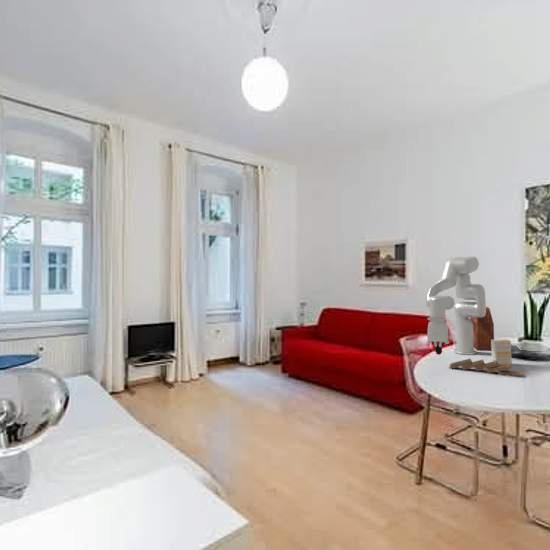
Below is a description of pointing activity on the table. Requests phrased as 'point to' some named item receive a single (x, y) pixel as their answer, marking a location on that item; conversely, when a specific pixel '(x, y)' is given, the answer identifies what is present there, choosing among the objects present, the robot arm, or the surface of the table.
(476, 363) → the domino
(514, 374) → the domino
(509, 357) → the supplement box
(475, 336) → the handbag
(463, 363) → the domino
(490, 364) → the domino
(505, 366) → the domino
